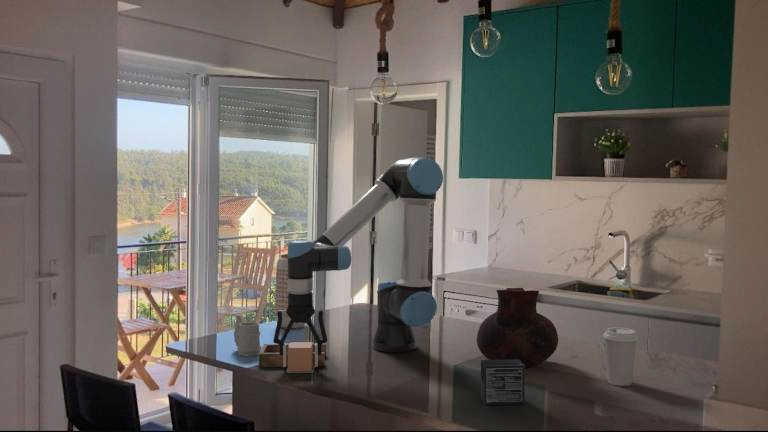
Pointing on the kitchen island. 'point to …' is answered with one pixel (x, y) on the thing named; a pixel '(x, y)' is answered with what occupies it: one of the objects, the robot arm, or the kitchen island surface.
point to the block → (300, 356)
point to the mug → (247, 337)
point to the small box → (502, 382)
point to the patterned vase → (283, 292)
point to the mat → (302, 371)
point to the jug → (517, 330)
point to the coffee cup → (620, 355)
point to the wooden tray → (272, 356)
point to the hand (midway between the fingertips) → (300, 365)
